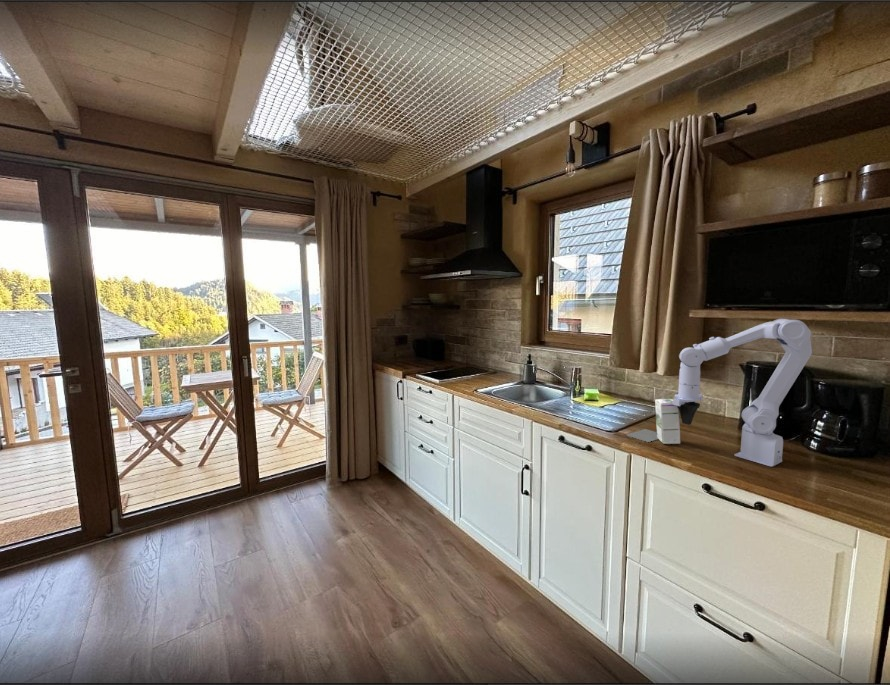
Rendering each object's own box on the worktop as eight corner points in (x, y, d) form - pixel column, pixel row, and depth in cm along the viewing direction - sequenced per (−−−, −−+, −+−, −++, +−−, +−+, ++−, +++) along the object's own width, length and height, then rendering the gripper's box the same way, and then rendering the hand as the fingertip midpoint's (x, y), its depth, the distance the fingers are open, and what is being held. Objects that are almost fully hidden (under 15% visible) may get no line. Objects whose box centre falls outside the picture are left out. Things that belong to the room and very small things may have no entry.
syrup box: (681, 444, 123) (679, 402, 122) (662, 444, 124) (660, 402, 123) (674, 438, 128) (672, 398, 127) (655, 438, 130) (654, 398, 129)
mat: (667, 436, 132) (667, 435, 132) (648, 442, 126) (648, 441, 126) (645, 429, 140) (645, 428, 140) (625, 435, 134) (625, 434, 134)
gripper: (687, 379, 126) (685, 417, 128) (664, 384, 119) (662, 423, 120) (710, 383, 120) (707, 422, 122) (687, 388, 113) (684, 430, 114)
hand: (686, 423), depth 121 cm, fingers closed
